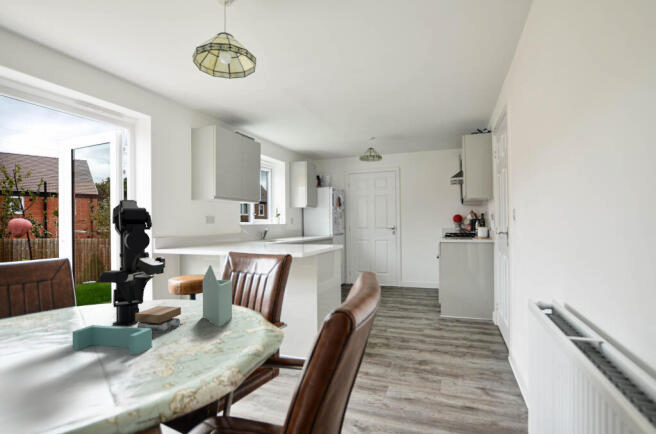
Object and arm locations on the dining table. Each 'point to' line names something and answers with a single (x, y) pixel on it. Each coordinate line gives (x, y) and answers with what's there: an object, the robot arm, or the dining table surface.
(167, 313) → the slab
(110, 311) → the dining table surface
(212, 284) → the planter
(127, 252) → the robot arm
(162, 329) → the roller front
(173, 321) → the roller rear
